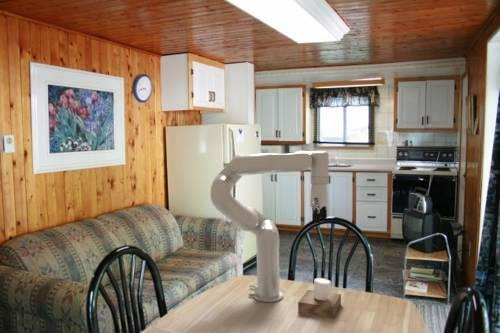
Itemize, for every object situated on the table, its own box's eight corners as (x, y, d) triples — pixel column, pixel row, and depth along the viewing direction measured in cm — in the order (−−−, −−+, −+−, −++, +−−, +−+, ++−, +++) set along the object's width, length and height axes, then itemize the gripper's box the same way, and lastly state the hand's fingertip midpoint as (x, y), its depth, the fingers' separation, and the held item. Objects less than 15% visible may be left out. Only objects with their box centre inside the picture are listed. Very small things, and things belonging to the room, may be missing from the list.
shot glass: (331, 301, 177) (333, 284, 176) (314, 300, 176) (317, 283, 175) (326, 294, 184) (328, 277, 183) (310, 293, 183) (312, 276, 182)
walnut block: (298, 314, 178) (298, 302, 177) (307, 301, 190) (307, 289, 190) (333, 319, 172) (333, 307, 172) (340, 305, 185) (340, 294, 184)
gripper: (317, 177, 199) (317, 215, 201) (304, 182, 184) (304, 223, 185) (333, 178, 196) (333, 216, 198) (322, 183, 180) (322, 225, 182)
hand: (319, 220), depth 191 cm, fingers open, 9 cm apart
